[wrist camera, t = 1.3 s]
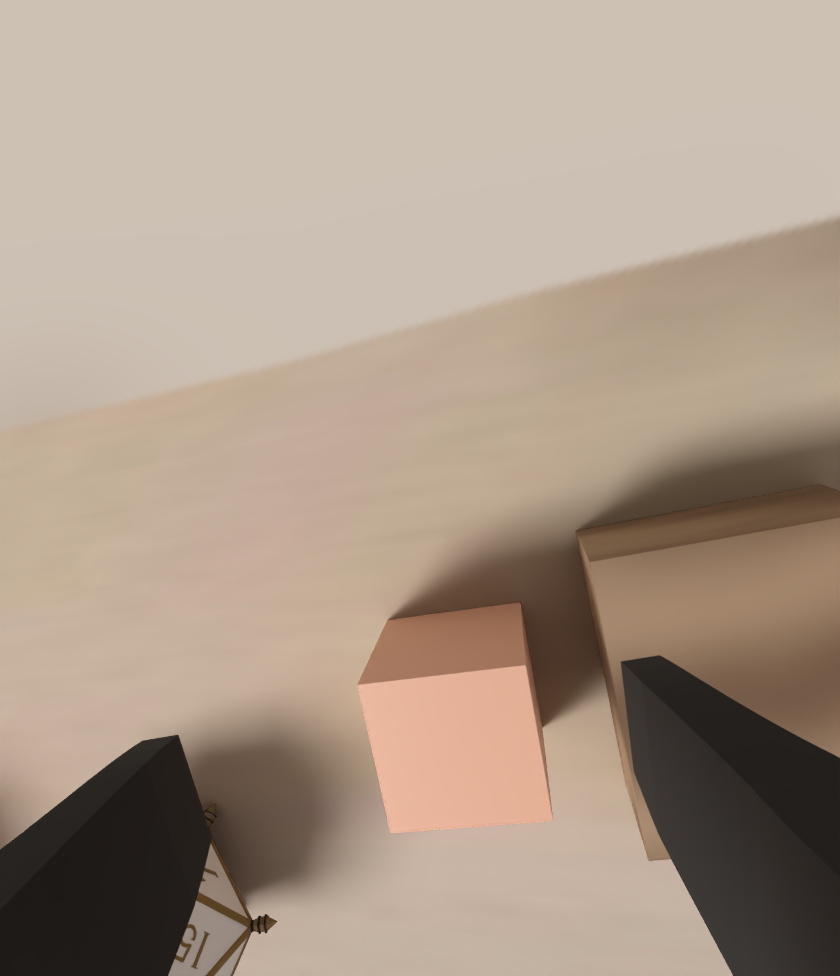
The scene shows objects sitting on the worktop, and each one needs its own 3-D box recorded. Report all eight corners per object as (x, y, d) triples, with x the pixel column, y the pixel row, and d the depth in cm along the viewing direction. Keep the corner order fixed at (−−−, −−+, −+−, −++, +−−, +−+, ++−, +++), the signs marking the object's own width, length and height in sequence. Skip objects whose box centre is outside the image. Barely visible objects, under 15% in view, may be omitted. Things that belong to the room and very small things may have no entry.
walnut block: (852, 752, 22) (928, 834, 18) (624, 779, 23) (649, 860, 19) (815, 483, 20) (890, 508, 16) (574, 528, 22) (589, 562, 18)
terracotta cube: (542, 726, 23) (553, 820, 18) (413, 739, 24) (390, 833, 19) (520, 601, 22) (525, 665, 17) (387, 619, 23) (357, 685, 18)
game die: (235, 836, 30) (99, 1110, 24) (90, 750, 27) (-115, 1043, 20) (352, 861, 24) (213, 1233, 18) (186, 755, 21) (-59, 1169, 14)
